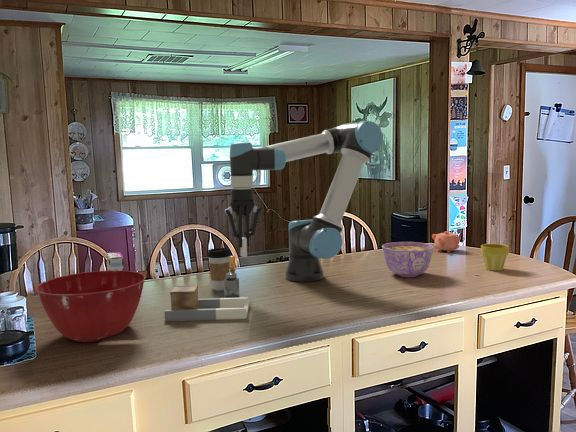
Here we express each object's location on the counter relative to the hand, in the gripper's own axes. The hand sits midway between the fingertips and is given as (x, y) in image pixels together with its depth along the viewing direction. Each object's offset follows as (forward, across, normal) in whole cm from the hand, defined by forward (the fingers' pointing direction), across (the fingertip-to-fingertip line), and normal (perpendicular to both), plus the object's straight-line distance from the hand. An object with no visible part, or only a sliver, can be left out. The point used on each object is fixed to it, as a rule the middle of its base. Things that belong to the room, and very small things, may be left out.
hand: (243, 256), depth 175 cm
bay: (+14, +17, +16) cm, 28 cm away
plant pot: (+13, -104, +12) cm, 105 cm away
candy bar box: (+15, +41, -15) cm, 46 cm away
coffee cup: (+14, +5, -14) cm, 21 cm away
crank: (+6, +5, +3) cm, 9 cm away
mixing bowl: (+15, +50, +16) cm, 54 cm away
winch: (+14, +6, +6) cm, 16 cm away
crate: (+13, +24, +14) cm, 30 cm away
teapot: (+13, -112, -28) cm, 116 cm away
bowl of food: (+14, -67, +2) cm, 69 cm away
